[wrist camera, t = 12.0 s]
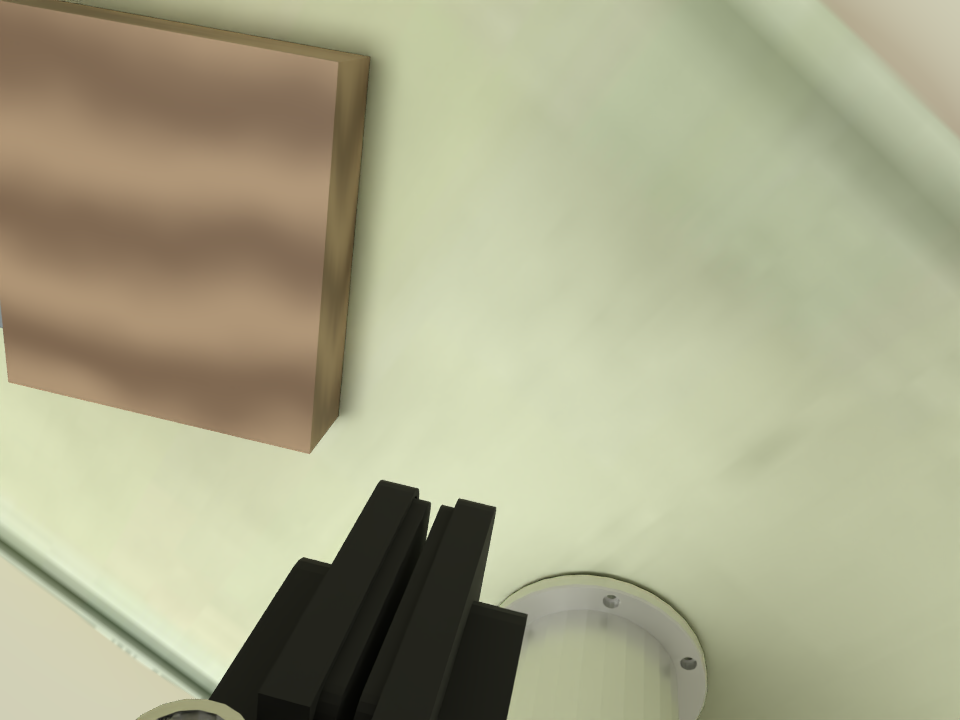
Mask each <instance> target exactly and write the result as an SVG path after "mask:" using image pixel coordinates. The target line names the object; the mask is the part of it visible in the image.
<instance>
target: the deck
mask: <svg viewBox="0 0 960 720" xmlns="http://www.w3.org/2000/svg"><path fill="white" fill-rule="evenodd" d="M369 65H370V57H369V56H363V55H358V54H352V53H347V52H341V51H336V50H330V49H325V48H319V47H313V46H308V45H302V44H297V43H291V42H286V41H280V40H275V39H269V38H264V37H258V36H252V35H247V34H241V33H236V32H230V31H225V30H219V29H214V28H208V27H203V26H197V25H191V24H186V23H180V22H175V21H169V20H164V19H158V18H153V17H147V16H142V15H136V14H130V13H125V12H119V11H114V10H108V9H103V8H97V7H92V6H86V5H81V4H75V3H69V2H64V1H58V0H0V305H1V315H2V324H3V334H4V344H5V353H6V363H7V373H8V382H10V383H14V384H19V385H23V386H27V387H31V388H35V389H39V390H44V391H48V392H52V393H56V394H60V395H65V396H69V397H73V398H77V399H81V400H86V401H90V402H94V403H98V404H102V405H107V406H111V407H115V408H119V409H123V410H128V411H132V412H136V413H140V414H144V415H148V416H153V417H157V418H161V419H165V420H169V421H174V422H178V423H182V424H186V425H190V426H195V427H199V428H203V429H207V430H211V431H216V432H220V433H224V434H228V435H232V436H237V437H241V438H245V439H249V440H253V441H257V442H262V443H266V444H270V445H274V446H278V447H283V448H287V449H291V450H295V451H299V452H304V453H308V454H310V453H311V451H312V450H313V449H314V448H315V446H316V445H317V444H318V442H319V441H320V440H321V438H322V437H323V436H324V434H325V433H326V432H327V431H328V429H329V428H330V427H331V425H332V424H333V423H334V421H335V420H336V419H337V417H338V414H339V402H340V391H341V380H342V369H343V357H344V346H345V335H346V323H347V312H348V301H349V290H350V278H351V267H352V256H353V245H354V233H355V222H356V211H357V200H358V188H359V177H360V166H361V155H362V143H363V132H364V121H365V110H366V98H367V87H368V76H369Z"/></svg>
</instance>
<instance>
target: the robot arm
mask: <svg viewBox="0 0 960 720" xmlns="http://www.w3.org/2000/svg"><path fill="white" fill-rule="evenodd" d="M430 509H431V503H430V502H428V501H424V500H420V499H419V489H418V488H414V487H410V486H406V485H401V484H397V483H393V482H389V481H385V480H381V481H380V482H379V483H378V484H377V486H376V488H375V490H374V491H373V493H372V495H371V497H370V498H369V500H368V502H367V504H366V505H365V507H364V509H363V510H362V512H361V514H360V516H359V517H358V519H357V521H356V523H355V524H354V526H353V528H352V530H351V531H350V533H349V535H348V537H347V538H346V540H345V542H344V544H343V545H342V547H341V549H340V551H339V552H338V554H337V556H336V558H335V559H334V561H333V563H332V564H328V563H324V562H320V561H316V560H312V559H308V558H304V557H303V558H301V559H300V560H298V562H297V563H296V564H295V566H294V567H293V568H292V570H291V572H290V573H289V575H288V576H287V578H286V579H285V581H284V582H283V584H282V586H281V587H280V589H279V590H278V592H277V593H276V595H275V597H274V598H273V600H272V601H271V603H270V604H269V606H268V608H267V609H266V611H265V612H264V614H263V615H262V617H261V618H260V620H259V622H258V623H257V625H256V626H255V628H254V629H253V631H252V633H251V634H250V636H249V637H248V639H247V640H246V642H245V644H244V645H243V647H242V648H241V650H240V651H239V653H238V655H237V656H236V658H235V659H234V661H233V662H232V664H231V665H230V667H229V669H228V670H227V672H226V673H225V675H224V676H223V678H222V680H221V681H220V683H219V684H218V686H217V687H216V689H215V691H214V692H213V694H212V695H211V697H210V698H209V700H207V699H183V700H179V701H175V702H170V703H166V704H163V705H160V706H158V707H156V708H154V709H152V710H150V711H148V712H146V713H144V714H142V715H141V716H140V717H139V718H137V719H136V720H697V719H698V717H699V715H700V713H701V711H702V709H703V707H704V703H705V699H706V694H707V670H706V664H705V658H704V653H703V650H702V648H701V646H700V643H699V641H698V638H697V636H696V635H695V633H694V632H693V631H692V629H691V628H690V626H689V625H688V623H687V622H686V621H685V620H684V619H683V618H682V617H681V616H680V615H679V614H678V613H677V612H676V611H675V610H674V609H673V608H672V607H671V606H670V605H668V604H667V603H665V602H664V601H662V600H661V599H659V598H658V597H657V596H655V595H654V594H652V593H650V592H648V591H646V590H643V589H641V588H639V587H637V586H635V585H633V584H630V583H626V582H623V581H619V580H616V579H612V578H608V577H600V576H592V575H564V576H559V577H554V578H549V579H544V580H541V581H538V582H536V583H533V584H531V585H528V586H525V587H524V588H522V589H520V590H519V591H517V592H516V593H514V594H512V595H511V596H509V597H508V598H507V599H506V600H505V601H504V602H503V603H502V604H501V605H500V606H499V607H498V606H494V605H490V604H486V603H482V602H479V597H480V592H481V587H482V582H483V577H484V571H485V566H486V561H487V556H488V551H489V545H490V540H491V535H492V530H493V525H494V519H495V514H496V507H493V506H489V505H485V504H481V503H476V502H472V501H468V500H464V499H460V498H459V499H458V501H457V503H456V505H455V508H453V507H449V506H445V505H441V507H440V509H439V511H438V514H437V516H436V519H435V521H434V523H433V526H432V528H431V530H430V533H429V535H428V538H427V540H426V536H427V530H428V523H429V516H430Z"/></svg>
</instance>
